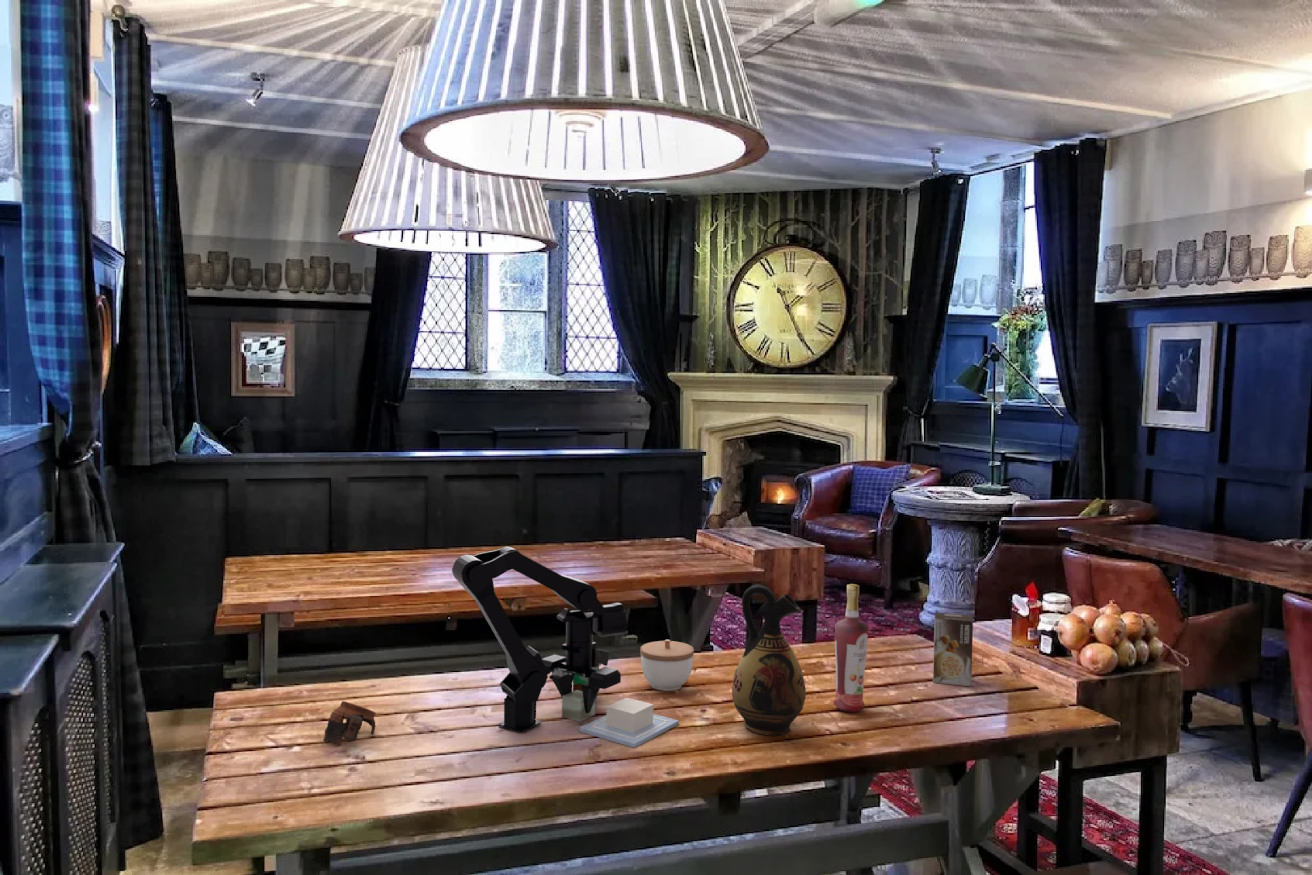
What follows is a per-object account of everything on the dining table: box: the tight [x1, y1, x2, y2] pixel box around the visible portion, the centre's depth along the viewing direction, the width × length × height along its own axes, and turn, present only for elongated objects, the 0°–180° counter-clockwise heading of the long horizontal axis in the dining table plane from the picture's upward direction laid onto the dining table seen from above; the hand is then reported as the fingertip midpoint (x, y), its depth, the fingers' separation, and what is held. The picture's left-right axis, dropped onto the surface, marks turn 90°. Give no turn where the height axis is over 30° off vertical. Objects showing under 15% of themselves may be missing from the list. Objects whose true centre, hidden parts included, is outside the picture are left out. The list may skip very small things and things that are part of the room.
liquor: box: [833, 583, 869, 714], centre depth 220 cm, size 7×7×28 cm
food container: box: [572, 664, 602, 698], centre depth 226 cm, size 12×6×10 cm, turn 179°
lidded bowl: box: [639, 639, 695, 692], centre depth 234 cm, size 13×13×11 cm
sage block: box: [561, 690, 596, 722], centre depth 214 cm, size 5×5×4 cm
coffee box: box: [932, 612, 974, 687], centre depth 242 cm, size 9×6×16 cm
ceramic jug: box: [731, 584, 807, 737], centre depth 209 cm, size 17×15×30 cm
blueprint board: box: [578, 697, 680, 748], centre depth 207 cm, size 16×14×5 cm
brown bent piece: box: [323, 700, 376, 747], centre depth 199 cm, size 12×10×8 cm
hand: (578, 710), depth 214 cm, fingers closed on sage block, 5 cm apart
